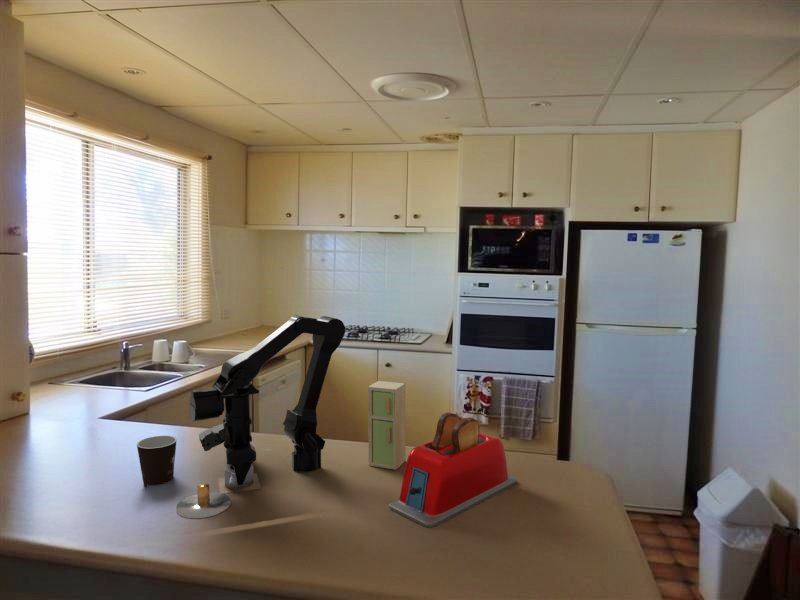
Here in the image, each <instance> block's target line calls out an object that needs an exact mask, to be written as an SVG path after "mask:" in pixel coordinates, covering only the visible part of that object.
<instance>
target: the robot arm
mask: <svg viewBox="0 0 800 600" xmlns="http://www.w3.org/2000/svg"><path fill="white" fill-rule="evenodd" d="M303 334H310V335H312V336H311V337H312V346H313V350H312V353H311V358H310V359H309V360H310V361H309V365H308V368H307V372H306V375H305V379H304V381H303V385H302V389H301V392H300V396H299V399H298V402H297V404H296V406H295V407H294V408H293V409H290V408H288V409H287V410H286V413H285V414H286V415H285V419H284V421H283V422H282V425H283V431H284V434H285V436H287V437H288V439H290V440H291V442H292V444H294V445H293V451H292V452H291V468H292V470H293V471H294V472H305V473H307V472H314V471H316V470H318V469H321V471H322V472H324V470H323V468H322V450H324V447H325V445H326V440H325V439H324V438H322V437H321V436H320V435H319V434H318V433H317V429H318V418H317V417H318V416H317V415H318V414H317V408H318V404H319V401H320V397H321V393H322V390H323V387H324V383H325V381H326V377H327V373H328V370H329V366H330V362H331V358H332V356H333V354H334V353H335V351H336V350H337V349H338V348H339V346H340V345H341V343H342V340H343V339H344V337H345V334H346V326H345V323H344V322H343V321H342V320H341V319H339V318H335V317H332V316H327V315H323V316H320V317H319V318H313V317H307V316H306V317H305V316H301V315H297V314H296V315H293V316H291V317H290V318H289V319H288V321H286V322H285V323H284V324H282V325H281V326H279V327H278V328H277V329H276V330H274V331H273V332H272V333H271V334H269V335H268V336H267V337H266V338H264V339H263V340H262V341H260V342H259V343H258V344H256V345H255V346H254V347H253V348H251V349H249V350H247V351H243V352H242V353H238V354H236V355H235V356H232V357H231V358H229V359H227V360H226V361H225V362H224V363H223V364H222V365H221V371H220V374H219V375H218V377H217V378H216V380H215V381H214V383H213V384H212V385H211V388H206V389H193V390H191V391H190V392H191V393H190V394H191V396H190V397H189V402H188V412H189V413H188V414H189V418H190V420H191V422H200V421H205V420H206V421H207V420H212V419H218V418H220V416H221V415H223V413H224V417H223V418H222V423H220V424H218V425H215V426H212V427H211V428H208V429H206V430H204V431H202V432H200V433H199V434H198V439H199V442H200V443H201V447H202V448H203V451H204V452H208V451H211V450H212V448H213V449H214V448H215V447H217V446H219V445H221V444H223V446H224V448H225V459H226V460H225V461H227V462H226V465H227V464H229V465H232V466H233V467H234V470H235V475H236V479H237V483H238V485H243V483H244V481H245V478H246V476H247V474H248V471H249V469H250V467H251V465H252V464H253V463H254V462H256V461H257V451H256V448H255V446H254V445H252V444H251V442H253V437H252V430H251V429H252V424H253V423H252V421H253V420H252V418H251V395H257V394H260V390H259V389H257V388H256V387H255V385H253V383H251V382H252V381H253V380H255V378H256V377H257V376H258V374H259V373H260V371H261V370H262V369H263V366H264V365H265V364H267V362H269V361H270V360H271V359H272V358H273V357H275V356H276V355H278V353H280V352H281V351H282V350H284V349H285V348H286V347H287V346H288V345H290V344H291V343H292V342H293V341H295V340H296V339H297V338H299V337H300V336H301V335H303ZM226 449H227V450H226Z"/></svg>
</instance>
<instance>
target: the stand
mask: <svg viewBox="0 0 800 600" xmlns="http://www.w3.org/2000/svg"><path fill="white" fill-rule="evenodd" d="M253 480H254V483H253V484H252V485H251V486H248V487H246V488H242V489H229V488H227V487H225V479H224V477H217V481H218V489H219V493H223V494H232V493H240V492H243V491H244V492H245V491H252V490H258V489H259V490H260V489H262V487H261V483H260V480H259V476H258V473H257V472H253Z"/></svg>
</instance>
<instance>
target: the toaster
mask: <svg viewBox="0 0 800 600" xmlns="http://www.w3.org/2000/svg"><path fill="white" fill-rule="evenodd" d="M480 428H481V427H480V423H479V420H477V419H475V418H473V417H465V418H462V417H461V416H459V415H458V414H457V413H452V412H444V413H442V414H441V416H440V417H439V419H438V421H437V425H436V430H435V435H434V438H433V440H430V441H428V442H425V443H423V444H419V445H417V446H415V447H413V448H412V450H411V451H410V452H409V455H408V457H407V461H406V464H405V468H404V472H403V475H402V476H403V477H402V483H401V487H400V493H399V494H400V495H399V498H397V499H396V500H394V501H391V502H390V503H389V505H388V509H390V510H391V511H392V512H395V513H397V514H399V515H401V516H403V517H405V518H407V519H409V520H411V521H412V522H413V521H414V522H415V523H418V524H419V525H421V526H423V527H425V528H434V527H437V526H438V525H441V524H443V523H445V522H447V521H449V520H452V519H453V518H455V517H457V516H458V515H461V514H463V513H464V512H466V511H467V510H470V509H472V508H474V507H475V506H477V505H480V504H481V503H484V502H485V501H487V500H489V499H490V498H493V497H494V496H497V495H499V494H501V493H502V492H504V491H506V490H507V489H510V488H511V487H514V485H516V484H517V478H516V477H514V476H511V475H509V472H508V471H509V470H508V465H507V455H506V451H505V447H504V443H503V441H501V439H500V438H499V437H498V436H497V437H496V436H493V435H489V434H488V433H487V434H486V433H483V432H480V431H481V430H480Z"/></svg>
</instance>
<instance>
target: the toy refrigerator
mask: <svg viewBox="0 0 800 600" xmlns="http://www.w3.org/2000/svg"><path fill="white" fill-rule="evenodd" d="M367 405H368V406H367V410H368V411H367V416H368V418H367V420H368V421H367V423H368V425H367V427H368V431H367V433H368V465H369V466H370V467H375V468H376V467H377V468H382V469H389V470H394V471H395V470H397V469H399V468H400V467H401V466H402V465H403V464H404V463H405V461H406V454H407V453H406V383H403V382H395V381H384V380H382V381H381V380H377V381H376V382H374V383H371V384H370V385H369V386H367Z"/></svg>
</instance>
